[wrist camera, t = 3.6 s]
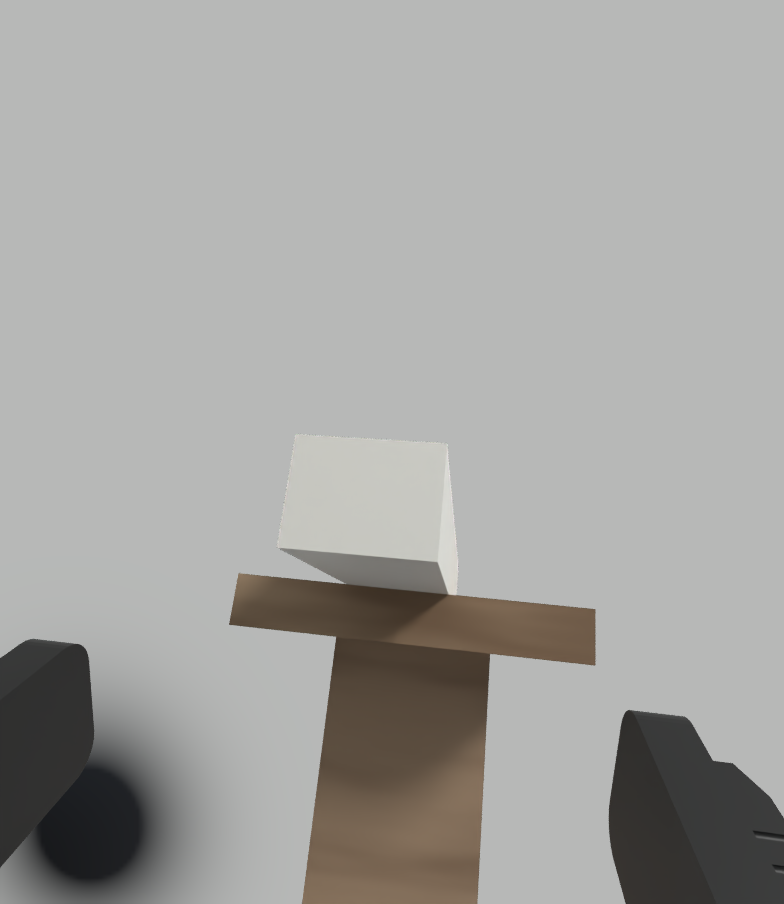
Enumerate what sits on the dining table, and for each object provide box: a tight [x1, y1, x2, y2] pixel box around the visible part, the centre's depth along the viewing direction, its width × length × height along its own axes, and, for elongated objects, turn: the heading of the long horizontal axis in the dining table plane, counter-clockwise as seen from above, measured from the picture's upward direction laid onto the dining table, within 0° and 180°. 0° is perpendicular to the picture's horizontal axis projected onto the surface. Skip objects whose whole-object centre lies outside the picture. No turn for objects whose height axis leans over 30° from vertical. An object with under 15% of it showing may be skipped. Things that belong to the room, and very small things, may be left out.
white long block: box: [277, 434, 459, 595], centre depth 27 cm, size 27×4×4 cm, turn 173°
